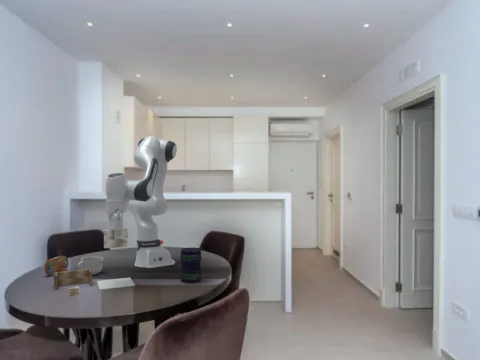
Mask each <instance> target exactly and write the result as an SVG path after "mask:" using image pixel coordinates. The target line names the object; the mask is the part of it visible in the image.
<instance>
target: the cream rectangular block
mask: <svg viewBox="0 0 480 360" xmlns="http://www.w3.org/2000/svg"><path fill="white" fill-rule="evenodd" d="M124 247H126V248H128V228H123V230H122V231H119V239H114V230H113V229H112V228H110V229H103V248H104V249H113V248H124Z"/></svg>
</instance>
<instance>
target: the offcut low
mask: <svg viewBox="0 0 480 360" xmlns="http://www.w3.org/2000/svg"><path fill="white" fill-rule="evenodd" d="M80 295H81V293H80V294H74V295H69V292H68V295H67V296H68V297H74V296H80Z"/></svg>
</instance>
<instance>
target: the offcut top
mask: <svg viewBox="0 0 480 360" xmlns="http://www.w3.org/2000/svg"><path fill="white" fill-rule="evenodd" d="M67 290H68V293H69V292H74V291H79V290H80V287H79V286H77V285H76V286H71V287H68V289H67Z"/></svg>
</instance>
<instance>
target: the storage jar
mask: <svg viewBox="0 0 480 360" xmlns="http://www.w3.org/2000/svg"><path fill="white" fill-rule="evenodd" d="M201 262H202V249H201V248H200V247H184V248H181V249H180V263H181V264H180V275H179V276H180V283H183V284H197V283H198V284H199V283H200V282H201V281H202V269H201V268H202V267H201V265H202V263H201Z"/></svg>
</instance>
